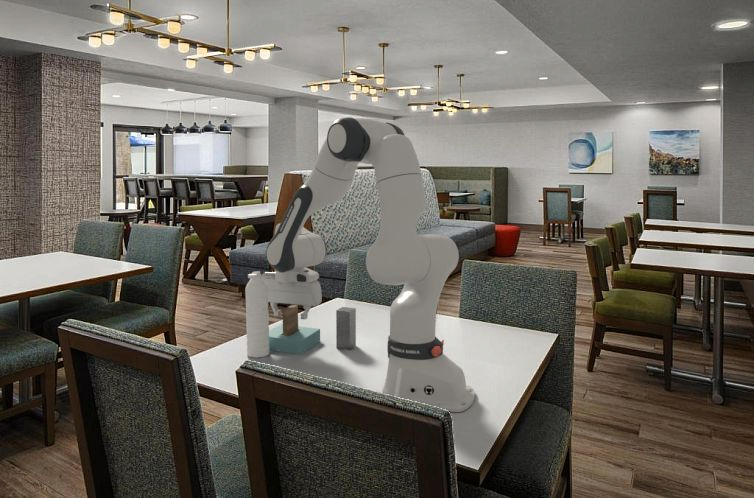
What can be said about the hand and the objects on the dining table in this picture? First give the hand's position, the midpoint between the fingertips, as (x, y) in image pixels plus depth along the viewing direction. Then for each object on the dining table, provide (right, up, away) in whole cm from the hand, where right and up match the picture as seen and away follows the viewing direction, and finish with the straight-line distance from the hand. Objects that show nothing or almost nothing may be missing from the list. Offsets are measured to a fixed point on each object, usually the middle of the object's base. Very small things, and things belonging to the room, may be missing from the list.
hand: (290, 317), depth 167 cm
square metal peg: (+17, -9, 0) cm, 19 cm away
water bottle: (-8, -10, -8) cm, 16 cm away
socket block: (0, -9, +2) cm, 9 cm away
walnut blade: (0, -9, +2) cm, 9 cm away
